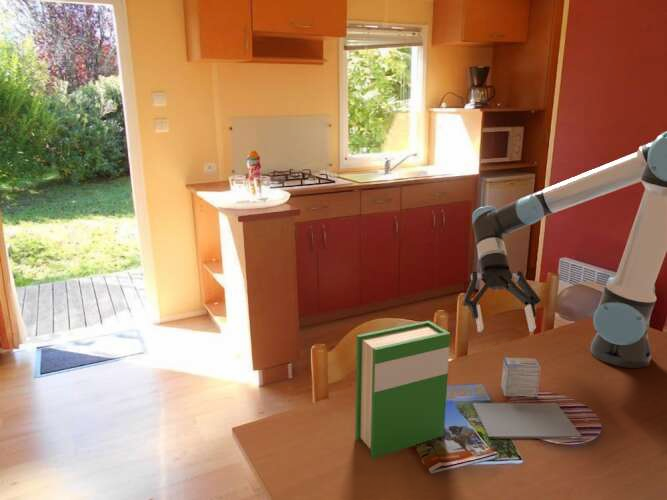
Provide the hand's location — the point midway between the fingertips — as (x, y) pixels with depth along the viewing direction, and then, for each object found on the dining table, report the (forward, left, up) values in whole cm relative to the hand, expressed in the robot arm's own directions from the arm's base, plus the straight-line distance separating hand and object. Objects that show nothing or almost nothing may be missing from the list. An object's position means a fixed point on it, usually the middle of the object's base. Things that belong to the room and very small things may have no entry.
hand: (506, 330), depth 134 cm
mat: (+2, +21, -13) cm, 25 cm away
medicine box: (-1, +9, -13) cm, 16 cm away
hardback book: (+31, +27, -13) cm, 43 cm away
